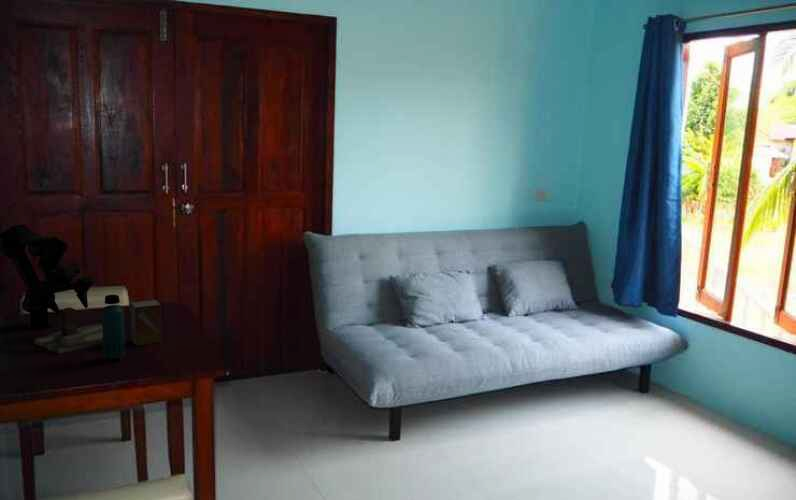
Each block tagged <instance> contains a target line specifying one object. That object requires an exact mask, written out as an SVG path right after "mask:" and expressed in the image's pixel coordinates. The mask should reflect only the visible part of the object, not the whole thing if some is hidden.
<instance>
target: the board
mask: <svg viewBox="0 0 796 500" xmlns="http://www.w3.org/2000/svg"><path fill="white" fill-rule="evenodd" d="M76 331H78V332H80V333H83V334H85V342H86V343H83V344H79V345H75V346H71V347H65V346H62V345H60V344H57V343H55V342H54V341H53V333H52V334H48V335H44V336H40V337H36V338H33V344H35V345H37V346H39V347H42V348H45V349H47V350H49V351H51V352H54V353H56V354H58V355H60V354H65V353H68V352H69V353H70V352H72V351H75V350H77V351H78V350H81V349H83V348H84V349H85V348H87V347H90V346H94V345H95V346H96V345H98V344H99V345H100V344H103V342H102V341H103V338H102V337H103V329H102V324H100V323H95V324H90V325H87V326H81V327H78V328H77V327H76Z"/></svg>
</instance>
